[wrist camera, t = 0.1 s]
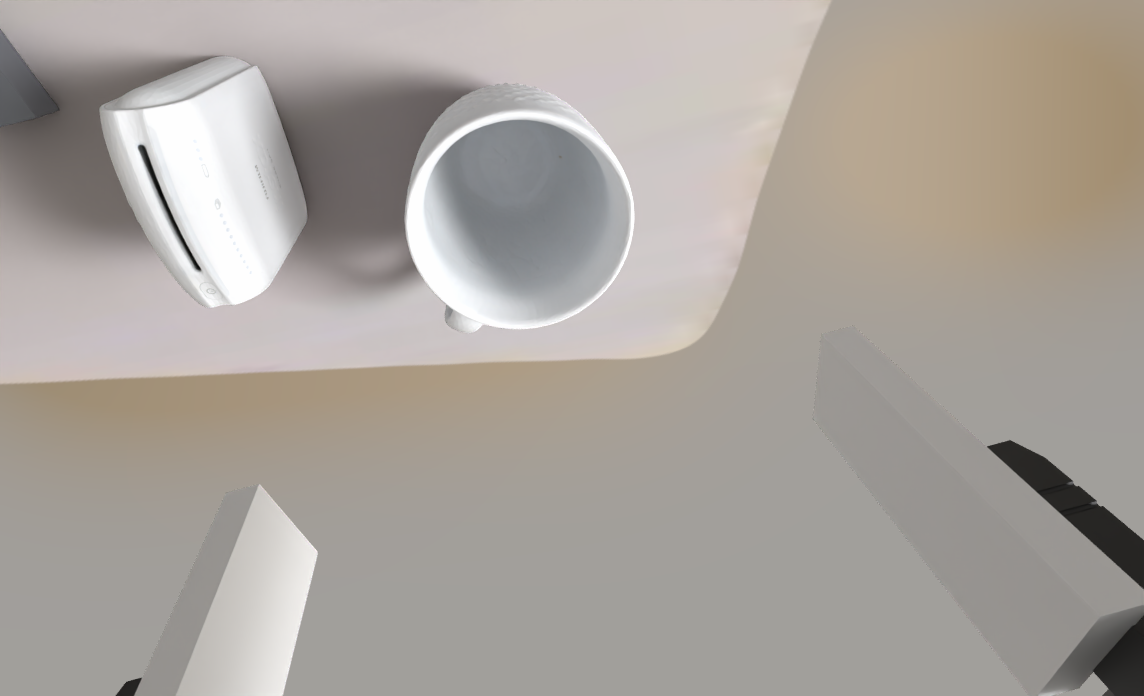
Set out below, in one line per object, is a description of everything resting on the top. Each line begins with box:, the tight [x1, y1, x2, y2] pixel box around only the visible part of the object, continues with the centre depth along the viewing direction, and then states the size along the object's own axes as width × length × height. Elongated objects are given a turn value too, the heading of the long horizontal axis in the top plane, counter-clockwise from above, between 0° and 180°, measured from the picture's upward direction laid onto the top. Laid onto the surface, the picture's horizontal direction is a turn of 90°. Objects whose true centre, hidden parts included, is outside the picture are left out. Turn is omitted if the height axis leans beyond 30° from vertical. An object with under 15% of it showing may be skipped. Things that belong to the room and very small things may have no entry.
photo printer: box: [99, 56, 307, 308], centre depth 28 cm, size 10×4×12 cm, turn 1°
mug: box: [404, 83, 634, 333], centre depth 32 cm, size 15×11×13 cm
